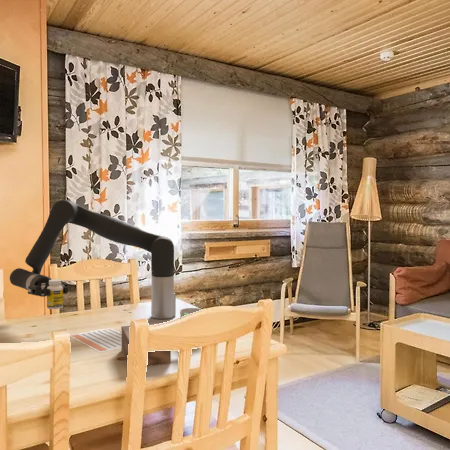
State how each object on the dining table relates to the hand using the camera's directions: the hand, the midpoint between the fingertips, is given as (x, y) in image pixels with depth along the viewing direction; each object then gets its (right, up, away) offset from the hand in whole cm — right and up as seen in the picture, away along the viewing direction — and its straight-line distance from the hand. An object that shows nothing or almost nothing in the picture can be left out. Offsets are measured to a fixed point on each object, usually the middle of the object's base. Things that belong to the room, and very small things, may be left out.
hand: (58, 291), depth 154 cm
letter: (+16, -16, 0) cm, 23 cm away
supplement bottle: (-2, -6, +2) cm, 7 cm away
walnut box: (+33, -18, -17) cm, 41 cm away
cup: (+46, -17, +2) cm, 49 cm away
